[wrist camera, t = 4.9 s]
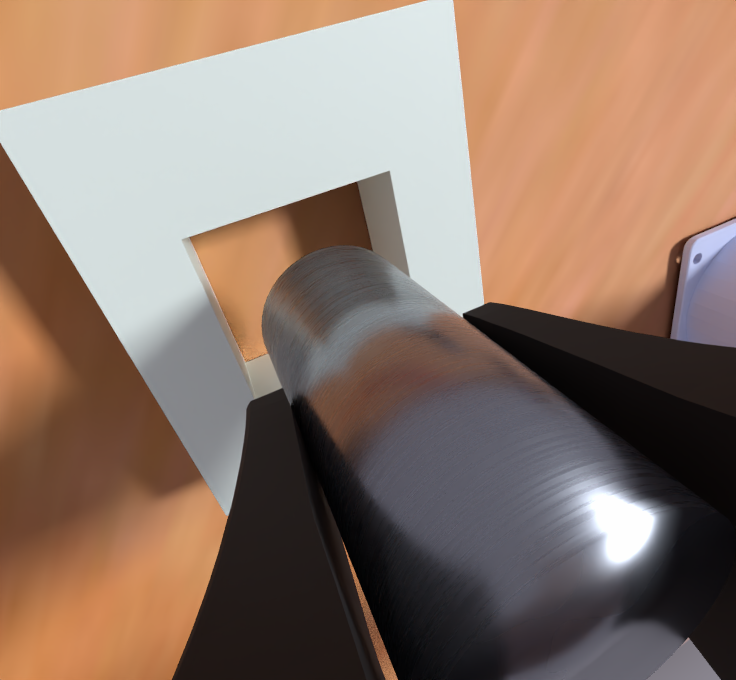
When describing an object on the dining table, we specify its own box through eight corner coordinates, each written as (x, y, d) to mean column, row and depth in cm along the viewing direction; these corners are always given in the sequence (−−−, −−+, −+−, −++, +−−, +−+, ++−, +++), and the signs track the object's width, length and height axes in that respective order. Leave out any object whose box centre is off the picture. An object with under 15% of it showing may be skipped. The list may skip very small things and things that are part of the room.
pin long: (415, 358, 13) (696, 656, 6) (284, 405, 12) (441, 813, 5) (397, 226, 11) (779, 448, 4) (240, 271, 10) (398, 643, 3)
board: (451, 355, 20) (493, 394, 17) (217, 456, 18) (226, 515, 15) (398, 12, 13) (452, -6, 11) (23, 109, 11) (-17, 114, 9)
